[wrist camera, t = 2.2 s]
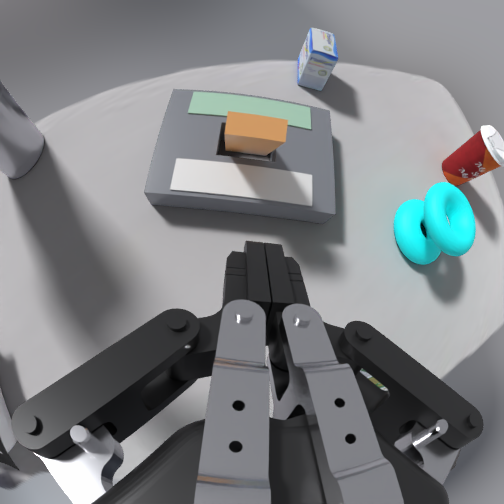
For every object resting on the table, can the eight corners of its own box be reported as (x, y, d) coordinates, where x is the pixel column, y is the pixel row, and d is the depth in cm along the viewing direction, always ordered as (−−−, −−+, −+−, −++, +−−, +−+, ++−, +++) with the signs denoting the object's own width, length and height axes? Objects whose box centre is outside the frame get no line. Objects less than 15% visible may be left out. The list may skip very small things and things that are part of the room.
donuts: (431, 235, 26) (434, 165, 28) (385, 252, 36) (394, 192, 38) (477, 264, 26) (478, 199, 29) (431, 274, 36) (437, 218, 38)
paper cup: (449, 193, 40) (501, 164, 26) (432, 156, 41) (479, 121, 27) (467, 188, 41) (515, 162, 28) (452, 154, 42) (495, 123, 29)
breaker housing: (323, 223, 35) (336, 213, 31) (151, 204, 32) (143, 191, 28) (320, 125, 38) (330, 109, 34) (175, 106, 36) (173, 88, 32)
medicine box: (297, 59, 41) (309, 26, 33) (320, 65, 41) (335, 33, 33) (296, 85, 39) (311, 49, 31) (322, 92, 40) (339, 57, 31)
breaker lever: (265, 155, 33) (285, 142, 21) (225, 150, 32) (224, 133, 21) (267, 140, 32) (288, 119, 21) (227, 135, 32) (227, 111, 20)
